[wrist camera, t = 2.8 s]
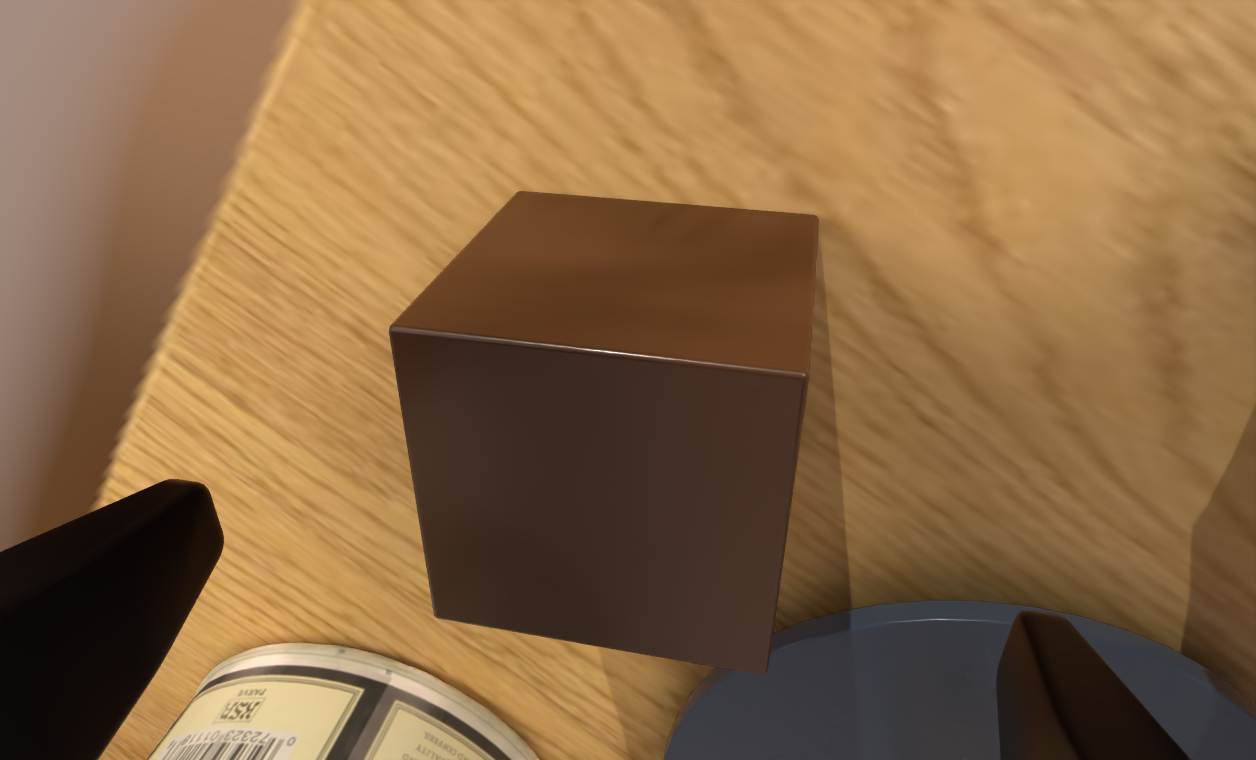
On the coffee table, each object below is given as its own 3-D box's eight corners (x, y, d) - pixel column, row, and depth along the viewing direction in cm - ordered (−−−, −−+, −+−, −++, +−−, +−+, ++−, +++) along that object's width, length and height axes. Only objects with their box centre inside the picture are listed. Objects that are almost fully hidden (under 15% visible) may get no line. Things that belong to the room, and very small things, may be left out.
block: (819, 213, 12) (809, 374, 8) (786, 465, 15) (767, 678, 11) (517, 189, 13) (385, 326, 9) (532, 431, 15) (432, 620, 12)
